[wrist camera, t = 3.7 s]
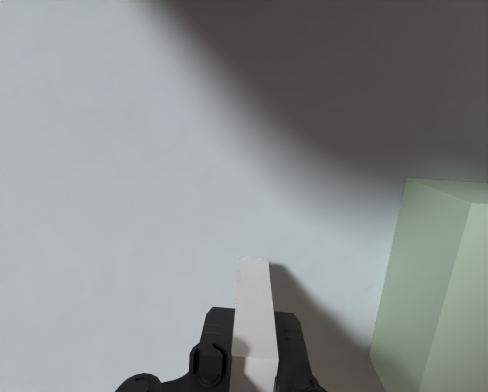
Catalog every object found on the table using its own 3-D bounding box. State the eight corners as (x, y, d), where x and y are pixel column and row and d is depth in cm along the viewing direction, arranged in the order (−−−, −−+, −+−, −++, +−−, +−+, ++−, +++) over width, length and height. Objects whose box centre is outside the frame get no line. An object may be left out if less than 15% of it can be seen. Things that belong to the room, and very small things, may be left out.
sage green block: (403, 176, 16) (471, 203, 11) (514, 183, 15) (633, 212, 11) (367, 353, 19) (406, 435, 14) (458, 359, 19) (530, 444, 14)
